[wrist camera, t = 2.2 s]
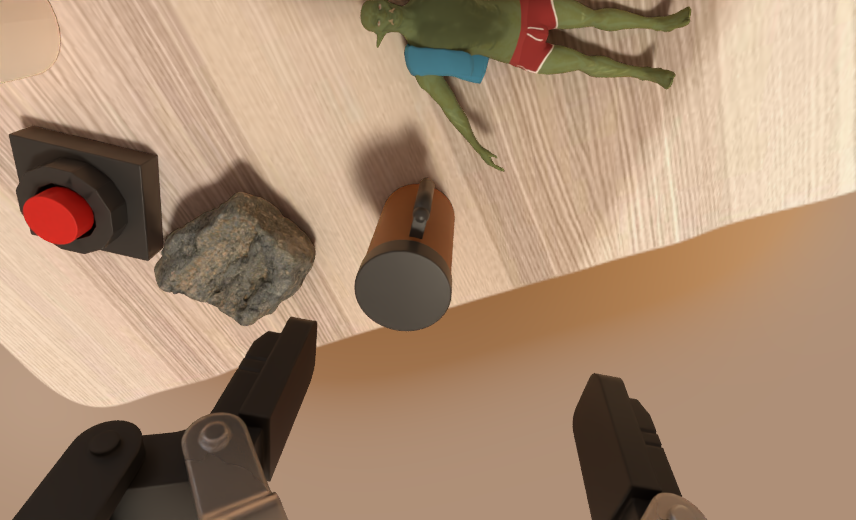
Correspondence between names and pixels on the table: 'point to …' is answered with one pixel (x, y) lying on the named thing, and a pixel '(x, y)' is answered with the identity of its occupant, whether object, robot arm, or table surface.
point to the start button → (58, 215)
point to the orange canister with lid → (409, 260)
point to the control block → (95, 188)
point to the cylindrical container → (27, 38)
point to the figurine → (503, 43)
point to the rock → (237, 258)
